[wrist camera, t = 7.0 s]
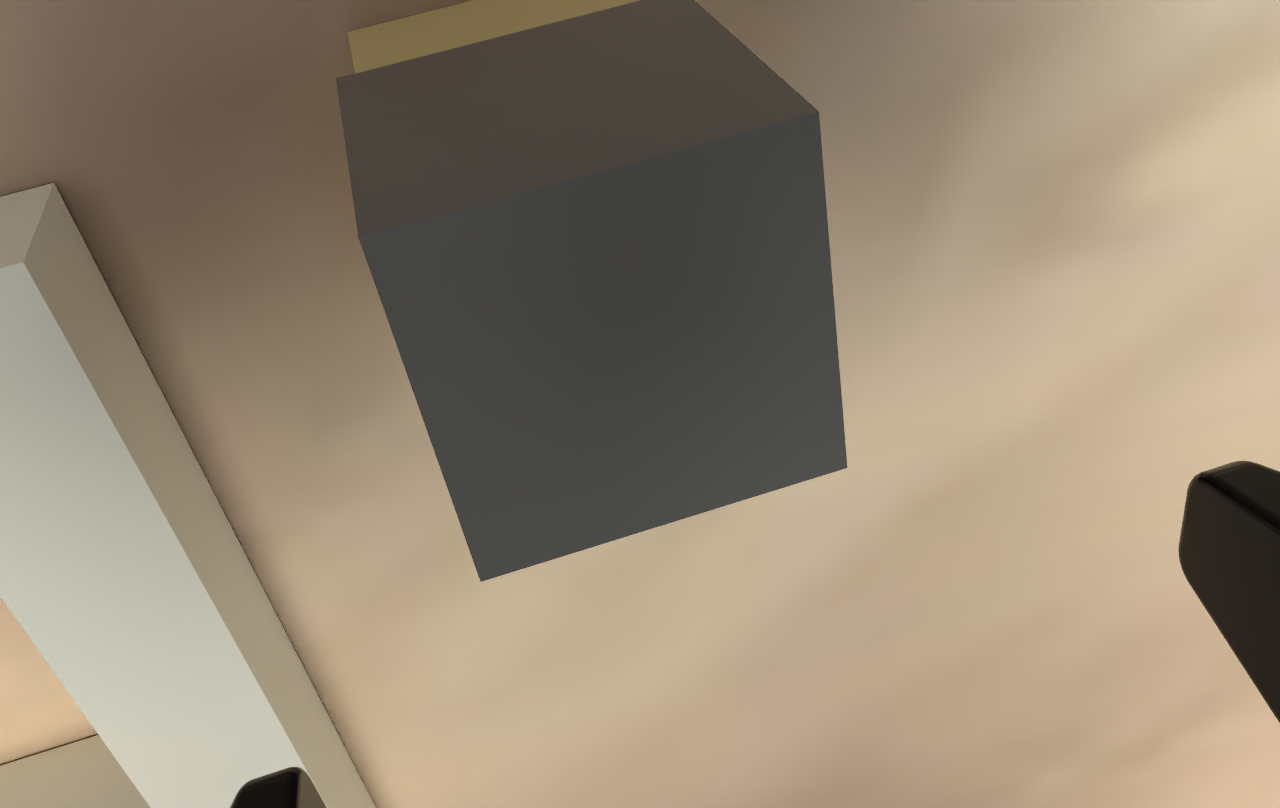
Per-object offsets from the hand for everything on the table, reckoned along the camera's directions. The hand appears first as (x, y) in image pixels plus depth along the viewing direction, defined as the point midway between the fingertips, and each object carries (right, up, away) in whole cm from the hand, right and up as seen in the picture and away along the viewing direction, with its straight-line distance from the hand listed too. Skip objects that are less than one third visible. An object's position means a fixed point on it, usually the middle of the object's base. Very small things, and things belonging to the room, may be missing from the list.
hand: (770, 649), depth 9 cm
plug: (-3, +6, +9) cm, 11 cm away
